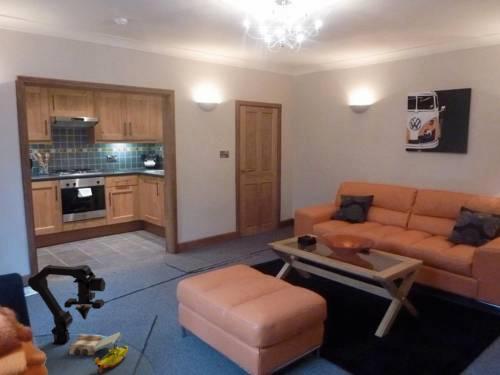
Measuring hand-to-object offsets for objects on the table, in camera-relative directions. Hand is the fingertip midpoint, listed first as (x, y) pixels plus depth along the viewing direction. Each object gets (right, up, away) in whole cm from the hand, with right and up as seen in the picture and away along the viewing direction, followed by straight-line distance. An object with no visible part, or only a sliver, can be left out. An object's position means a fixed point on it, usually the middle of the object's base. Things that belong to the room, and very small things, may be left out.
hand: (85, 319), depth 204 cm
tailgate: (+9, -12, -5) cm, 16 cm away
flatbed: (+2, -14, -4) cm, 15 cm away
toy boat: (+21, -16, -17) cm, 31 cm away
